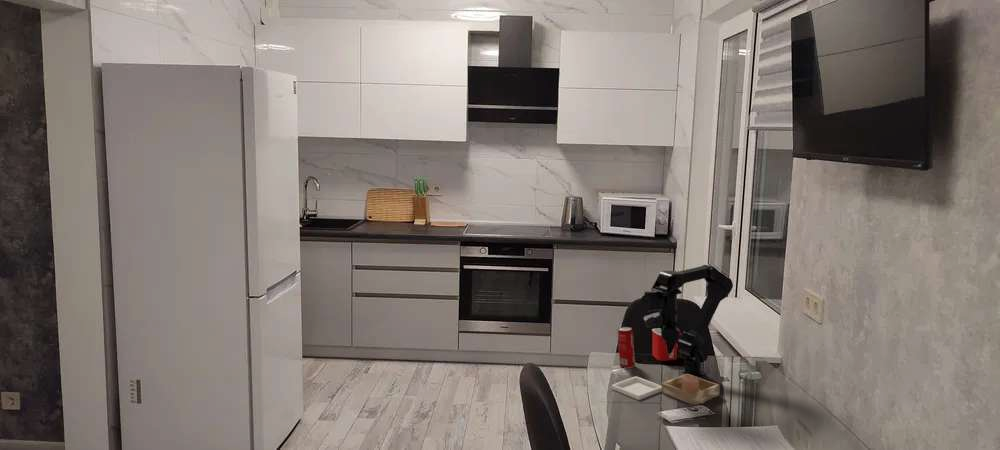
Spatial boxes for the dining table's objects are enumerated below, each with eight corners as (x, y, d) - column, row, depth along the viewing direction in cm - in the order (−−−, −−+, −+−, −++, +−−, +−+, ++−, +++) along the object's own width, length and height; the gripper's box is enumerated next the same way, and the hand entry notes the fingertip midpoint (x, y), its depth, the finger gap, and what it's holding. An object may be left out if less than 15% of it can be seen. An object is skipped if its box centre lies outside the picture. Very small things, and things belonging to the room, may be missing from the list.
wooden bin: (686, 384, 244) (686, 373, 243) (719, 396, 233) (719, 384, 233) (661, 394, 236) (661, 383, 235) (693, 406, 225) (694, 395, 225)
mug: (658, 361, 267) (658, 335, 265) (650, 354, 275) (650, 329, 273) (687, 359, 269) (688, 332, 267) (678, 352, 277) (679, 326, 275)
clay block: (681, 389, 237) (682, 376, 237) (696, 390, 237) (696, 376, 236) (683, 395, 232) (683, 381, 232) (698, 396, 232) (698, 382, 231)
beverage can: (634, 369, 260) (635, 331, 257) (617, 368, 261) (617, 330, 259) (635, 363, 265) (635, 326, 263) (618, 363, 267) (617, 325, 264)
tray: (635, 381, 248) (635, 376, 248) (663, 391, 238) (663, 386, 238) (611, 390, 241) (611, 385, 240) (638, 401, 231) (638, 396, 230)
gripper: (643, 299, 253) (643, 340, 256) (646, 314, 235) (646, 357, 237) (674, 300, 252) (674, 341, 254) (680, 314, 233) (679, 358, 236)
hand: (668, 349), depth 245 cm, fingers open, 9 cm apart
